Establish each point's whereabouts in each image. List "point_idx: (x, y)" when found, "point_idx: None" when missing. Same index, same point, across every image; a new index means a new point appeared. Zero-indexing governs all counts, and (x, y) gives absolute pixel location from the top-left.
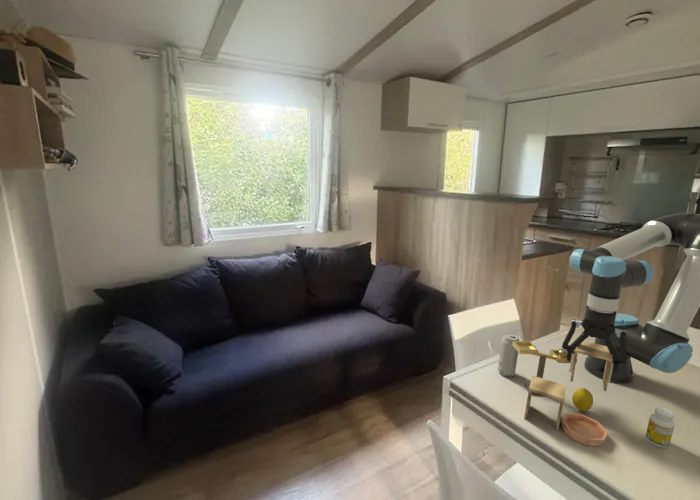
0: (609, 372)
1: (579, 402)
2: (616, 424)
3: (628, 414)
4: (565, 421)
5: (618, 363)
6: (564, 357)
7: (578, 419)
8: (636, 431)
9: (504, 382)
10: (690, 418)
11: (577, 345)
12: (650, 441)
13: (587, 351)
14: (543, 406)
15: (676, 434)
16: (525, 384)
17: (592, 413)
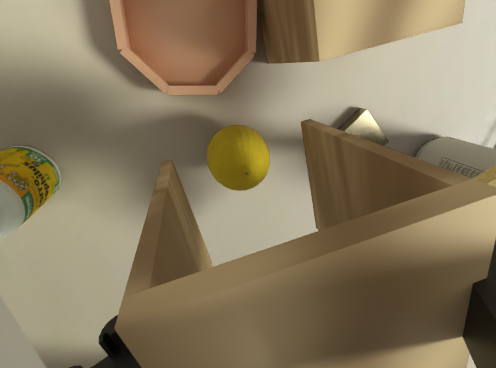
0: (149, 215)
1: (240, 127)
2: (137, 161)
3: (136, 234)
4: (245, 17)
5: (104, 336)
6: None
7: (219, 74)
8: (87, 173)
9: (430, 106)
10: (34, 334)
11: (488, 290)
12: (32, 148)
13: (392, 262)
14: (317, 73)
15: (17, 247)
16: (384, 135)
17: (203, 160)
